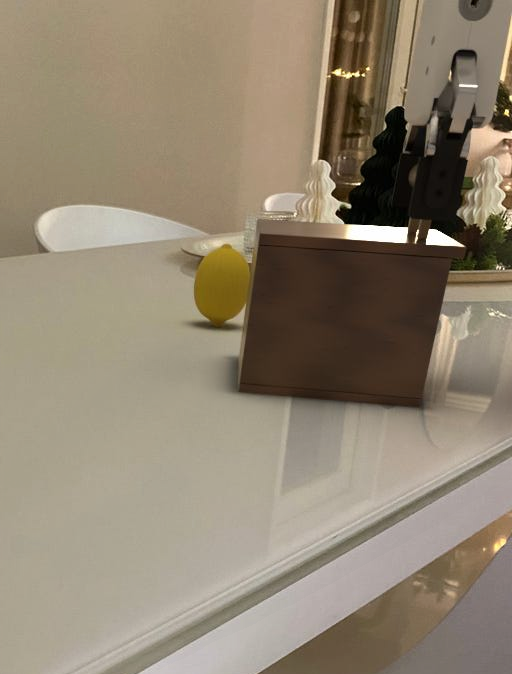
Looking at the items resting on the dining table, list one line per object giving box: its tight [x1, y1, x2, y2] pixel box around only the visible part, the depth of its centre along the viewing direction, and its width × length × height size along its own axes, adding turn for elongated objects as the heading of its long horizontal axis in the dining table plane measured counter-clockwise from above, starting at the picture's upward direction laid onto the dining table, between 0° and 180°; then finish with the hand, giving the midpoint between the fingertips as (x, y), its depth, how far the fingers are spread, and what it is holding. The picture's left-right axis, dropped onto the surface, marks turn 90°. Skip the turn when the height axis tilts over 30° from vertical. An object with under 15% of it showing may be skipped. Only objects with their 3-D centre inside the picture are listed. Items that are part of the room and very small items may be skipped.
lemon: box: [193, 243, 251, 328], centre depth 104 cm, size 6×6×8 cm
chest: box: [237, 229, 453, 409], centre depth 83 cm, size 14×13×11 cm
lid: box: [255, 164, 467, 259], centre depth 79 cm, size 14×13×6 cm
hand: (420, 214), depth 79 cm, fingers open, 9 cm apart
